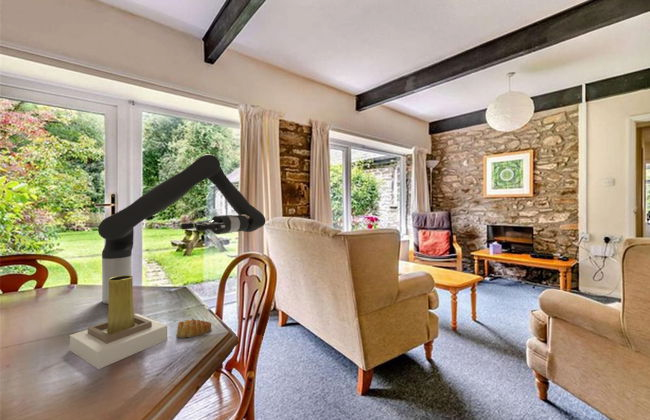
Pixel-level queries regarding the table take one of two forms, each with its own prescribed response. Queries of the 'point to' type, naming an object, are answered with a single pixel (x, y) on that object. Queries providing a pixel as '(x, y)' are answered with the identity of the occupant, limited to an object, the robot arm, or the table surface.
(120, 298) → the vase
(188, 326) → the pastry
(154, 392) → the table surface
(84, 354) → the display stand
